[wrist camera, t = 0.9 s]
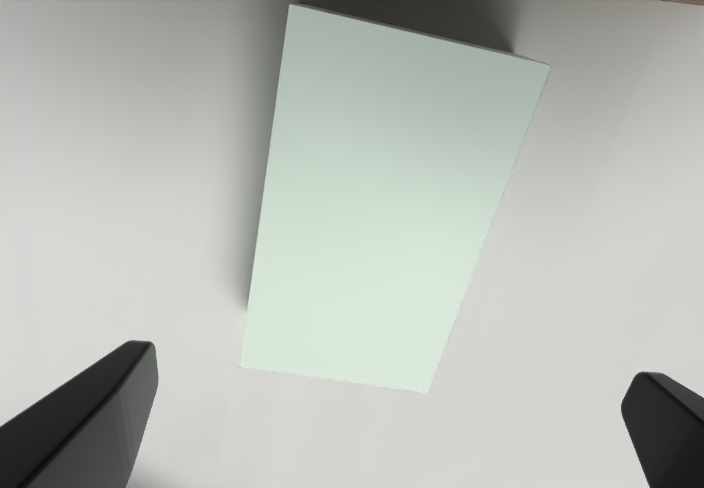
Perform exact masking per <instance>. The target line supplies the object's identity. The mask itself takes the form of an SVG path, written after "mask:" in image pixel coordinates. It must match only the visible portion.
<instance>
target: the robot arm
mask: <svg viewBox="0 0 704 488" xmlns="http://www.w3.org/2000/svg"><path fill="white" fill-rule="evenodd" d="M157 386H158V369H157V359H156V350H155V346H154V344H153V343H152V342H150V341H136V340H131V341H128V342H126V343H124V344H123V345H121V346H120V347H118V348H117V349H115V350H114V351H112V352H111V353H109V354H108V355H106V356H105V357H103V358H102V359H100V360H99V361H97V362H96V363H94V364H93V365H91V366H90V367H88V368H87V369H85V370H84V371H82V372H81V373H79V374H78V375H76V376H75V377H73V378H72V379H70V380H69V381H67V382H66V383H64V384H63V385H61V386H60V387H58V388H57V389H56V390H54V391H53V392H51V393H50V394H48V395H47V396H45V397H44V398H42V399H41V400H39V401H38V402H36V403H35V404H33V405H32V406H30V407H29V408H27V409H26V410H24V411H23V412H21V413H20V414H18V415H17V416H15V417H14V418H12V419H11V420H9V421H8V422H6V423H5V424H3V425H2V426H0V488H125V487H126V485H127V483H128V480H129V477H130V475H131V472H132V470H133V466H134V463H135V460H136V457H137V454H138V451H139V447H140V444H141V441H142V437H143V434H144V431H145V427H146V424H147V421H148V417H149V414H150V411H151V408H152V404H153V401H154V398H155V394H156V391H157ZM621 412H622V417H623V419H624V422H625V425H626V427H627V430H628V432H629V435H630V438H631V440H632V443H633V445H634V448H635V451H636V453H637V456H638V458H639V461H640V464H641V466H642V469H643V471H644V474H645V477H646V479H647V482H648V484H649V487H650V488H704V398H703V397H701V396H700V395H698V394H696V393H695V392H693V391H691V390H690V389H688V388H686V387H685V386H683V385H681V384H680V383H678V382H676V381H675V380H673V379H671V378H670V377H668V376H666V375H665V374H662V373H658V372H639V373H638V374H636V375H635V377H634V378H633V380H632V383H631V385H630V387H629V389H628V391H627V393H626V395H625V397H624V399H623V401H622V404H621Z"/></svg>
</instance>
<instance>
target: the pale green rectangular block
mask: <svg viewBox="0 0 704 488" xmlns="http://www.w3.org/2000/svg"><path fill="white" fill-rule="evenodd" d="M550 69H551V65H548V64H545V63H542V62H539V61H536V60H533V59H530V58H527V57H524V56H520V55H517V54H514V53H510V52H506V51H502V50H497V49H493V48H489V47H485V46H480V45H476V44H472V43H468V42H463V41H459V40H455V39H451V38H446V37H442V36H438V35H434V34H429V33H425V32H421V31H417V30H412V29H408V28H404V27H400V26H396V25H391V24H387V23H383V22H379V21H374V20H370V19H366V18H362V17H357V16H353V15H349V14H345V13H340V12H336V11H332V10H328V9H323V8H319V7H315V6H311V5H306V4H302V3H292V4H289V10H288V17H287V24H286V32H285V39H284V46H283V53H282V61H281V68H280V75H279V82H278V90H277V97H276V104H275V112H274V119H273V126H272V133H271V141H270V148H269V155H268V162H267V170H266V177H265V184H264V192H263V199H262V206H261V213H260V221H259V228H258V235H257V243H256V250H255V257H254V264H253V272H252V279H251V286H250V293H249V301H248V308H247V315H246V323H245V330H244V337H243V344H242V352H241V359H240V366H239V367H243V368H250V369H257V370H264V371H272V372H279V373H286V374H293V375H301V376H308V377H315V378H322V379H329V380H337V381H344V382H351V383H358V384H365V385H373V386H380V387H387V388H394V389H402V390H409V391H416V392H423V393H427V392H428V390H429V387H430V384H431V382H432V379H433V377H434V374H435V371H436V369H437V366H438V363H439V361H440V358H441V355H442V353H443V350H444V348H445V345H446V342H447V340H448V337H449V334H450V332H451V329H452V327H453V324H454V321H455V319H456V316H457V313H458V311H459V308H460V306H461V303H462V300H463V298H464V295H465V292H466V290H467V287H468V285H469V282H470V279H471V277H472V274H473V271H474V269H475V266H476V263H477V261H478V258H479V256H480V253H481V250H482V248H483V245H484V242H485V240H486V237H487V235H488V232H489V229H490V227H491V224H492V221H493V219H494V216H495V214H496V211H497V208H498V206H499V203H500V200H501V198H502V195H503V193H504V190H505V187H506V185H507V182H508V179H509V177H510V174H511V172H512V169H513V166H514V164H515V161H516V158H517V156H518V153H519V150H520V148H521V145H522V143H523V140H524V137H525V135H526V132H527V129H528V127H529V124H530V122H531V119H532V116H533V114H534V111H535V108H536V106H537V103H538V101H539V98H540V95H541V93H542V90H543V87H544V85H545V82H546V80H547V77H548V74H549V72H550Z"/></svg>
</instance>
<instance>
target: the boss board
mask: <svg viewBox="0 0 704 488" xmlns="http://www.w3.org/2000/svg"><path fill="white" fill-rule="evenodd" d="M663 1H671V2H679V3H687V4H695V5H703V6H704V0H663Z"/></svg>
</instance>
